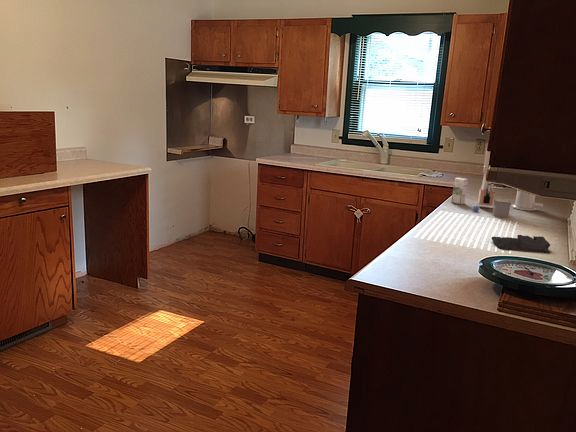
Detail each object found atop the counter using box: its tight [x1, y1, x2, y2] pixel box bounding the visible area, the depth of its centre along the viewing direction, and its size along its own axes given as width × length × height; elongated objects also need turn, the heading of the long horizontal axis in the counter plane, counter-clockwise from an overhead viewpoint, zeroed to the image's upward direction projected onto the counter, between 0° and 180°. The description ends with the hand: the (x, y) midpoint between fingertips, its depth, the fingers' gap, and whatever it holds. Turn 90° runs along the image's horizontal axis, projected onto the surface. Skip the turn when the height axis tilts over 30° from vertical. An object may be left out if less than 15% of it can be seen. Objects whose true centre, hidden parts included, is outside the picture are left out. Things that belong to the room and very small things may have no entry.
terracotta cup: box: [477, 188, 496, 207], centre depth 279 cm, size 7×7×8 cm
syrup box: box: [451, 177, 469, 205], centre depth 286 cm, size 6×6×14 cm
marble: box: [472, 205, 480, 212], centre depth 268 cm, size 3×3×3 cm
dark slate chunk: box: [491, 234, 552, 254], centre depth 207 cm, size 15×22×5 cm
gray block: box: [492, 198, 512, 219], centre depth 261 cm, size 7×7×8 cm
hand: (485, 201), depth 280 cm, fingers closed on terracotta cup, 7 cm apart
